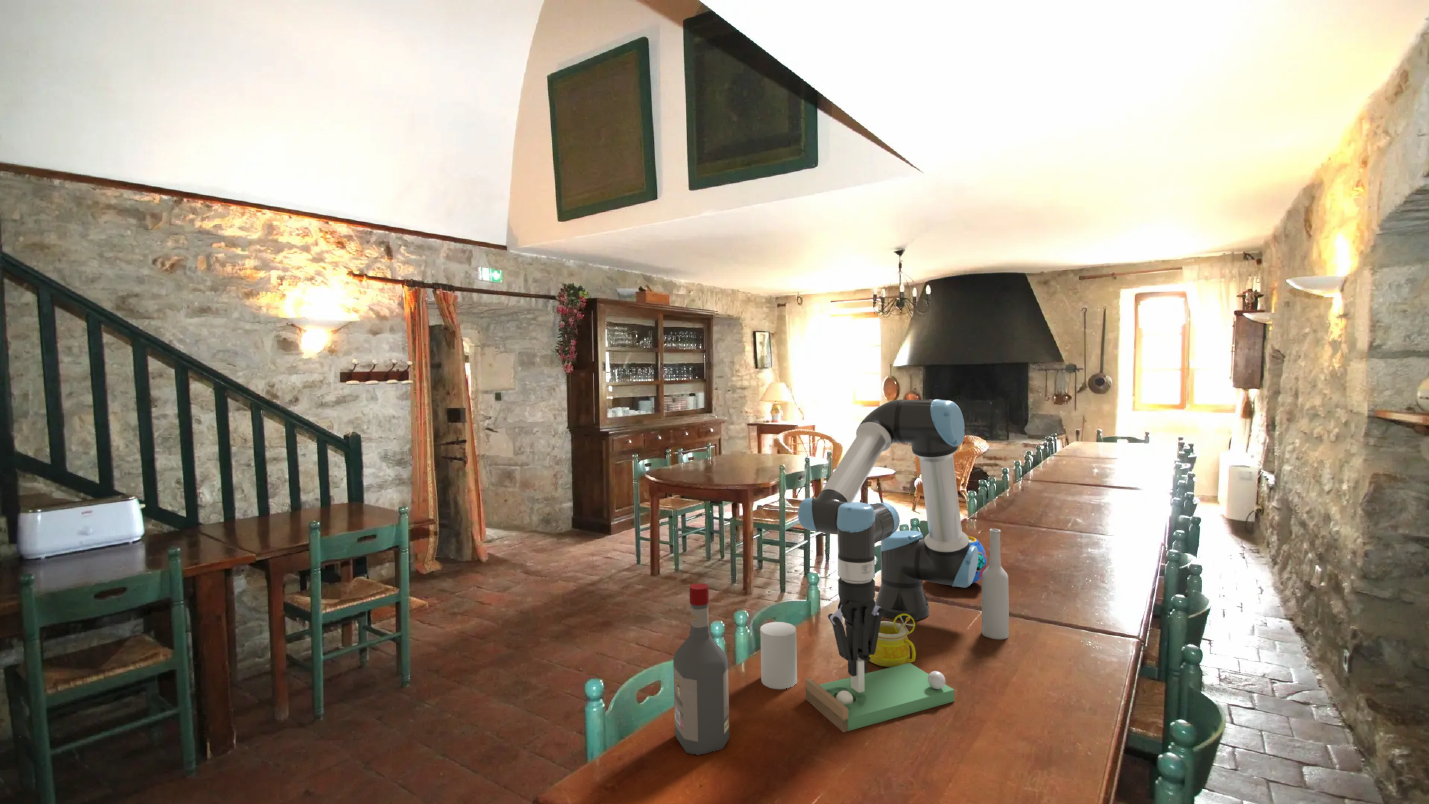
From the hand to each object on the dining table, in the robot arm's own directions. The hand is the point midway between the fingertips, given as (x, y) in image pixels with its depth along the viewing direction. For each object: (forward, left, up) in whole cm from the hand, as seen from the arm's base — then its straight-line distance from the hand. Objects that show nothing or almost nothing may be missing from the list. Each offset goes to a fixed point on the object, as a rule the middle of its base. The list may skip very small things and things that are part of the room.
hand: (857, 689), depth 133 cm
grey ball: (+5, +16, +1) cm, 17 cm away
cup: (-17, -10, -4) cm, 20 cm away
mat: (0, +5, -4) cm, 7 cm away
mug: (-14, +19, -4) cm, 24 cm away
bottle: (-15, +54, -4) cm, 57 cm away
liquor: (-2, -35, -4) cm, 35 cm away
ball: (0, -3, -2) cm, 4 cm away
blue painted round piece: (-51, +76, -4) cm, 92 cm away
